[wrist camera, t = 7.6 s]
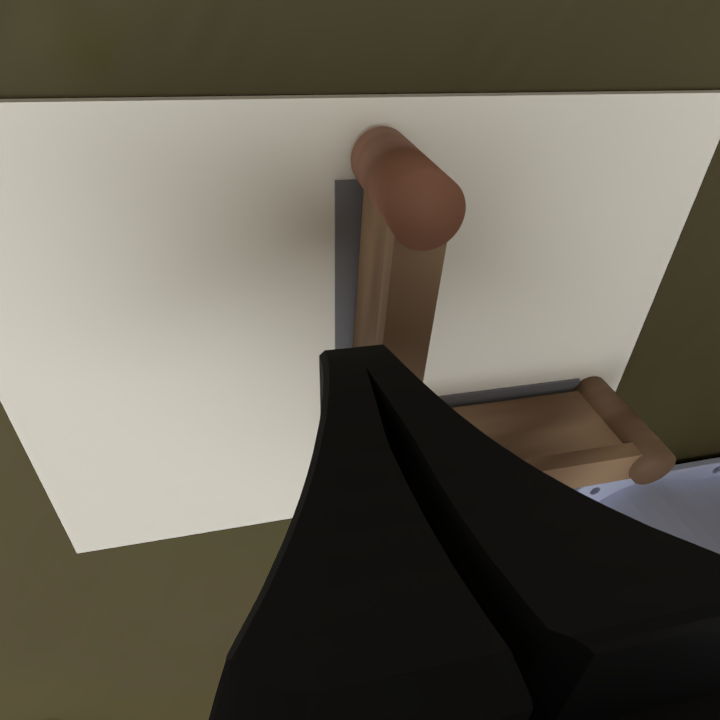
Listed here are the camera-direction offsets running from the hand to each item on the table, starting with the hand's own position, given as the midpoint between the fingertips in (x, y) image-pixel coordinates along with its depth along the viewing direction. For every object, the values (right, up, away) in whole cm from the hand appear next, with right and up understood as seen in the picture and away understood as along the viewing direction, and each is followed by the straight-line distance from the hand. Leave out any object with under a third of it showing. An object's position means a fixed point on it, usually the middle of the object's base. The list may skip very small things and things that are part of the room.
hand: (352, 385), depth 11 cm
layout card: (0, +1, +7) cm, 7 cm away
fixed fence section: (+5, -1, +9) cm, 11 cm away
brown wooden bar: (0, +3, +5) cm, 6 cm away
